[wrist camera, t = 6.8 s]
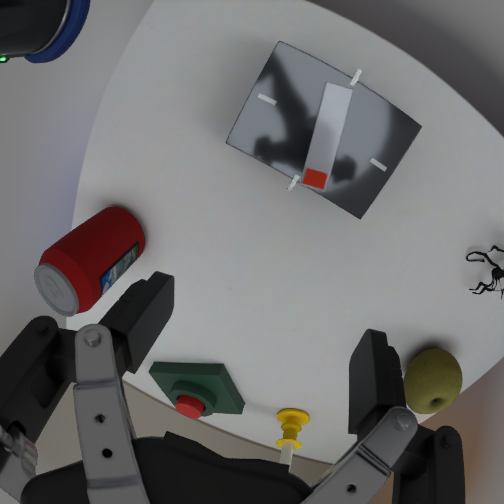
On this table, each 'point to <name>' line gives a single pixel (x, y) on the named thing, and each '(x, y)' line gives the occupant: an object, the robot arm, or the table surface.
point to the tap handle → (326, 136)
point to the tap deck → (303, 120)
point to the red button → (189, 406)
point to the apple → (432, 381)
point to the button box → (199, 385)
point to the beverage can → (89, 261)
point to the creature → (496, 272)
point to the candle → (290, 432)
